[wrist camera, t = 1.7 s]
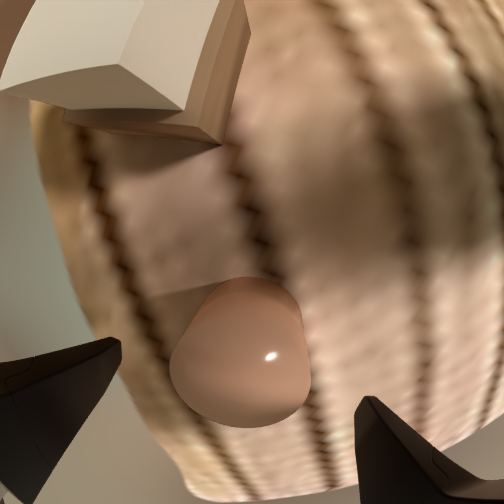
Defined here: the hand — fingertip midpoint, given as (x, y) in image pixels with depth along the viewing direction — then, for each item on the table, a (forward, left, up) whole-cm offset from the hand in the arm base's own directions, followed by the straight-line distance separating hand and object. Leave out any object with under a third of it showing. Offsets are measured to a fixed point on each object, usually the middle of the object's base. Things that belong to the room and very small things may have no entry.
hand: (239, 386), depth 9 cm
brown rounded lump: (0, 0, -5) cm, 5 cm away
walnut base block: (+6, -11, -5) cm, 13 cm away
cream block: (+6, -11, -1) cm, 12 cm away
